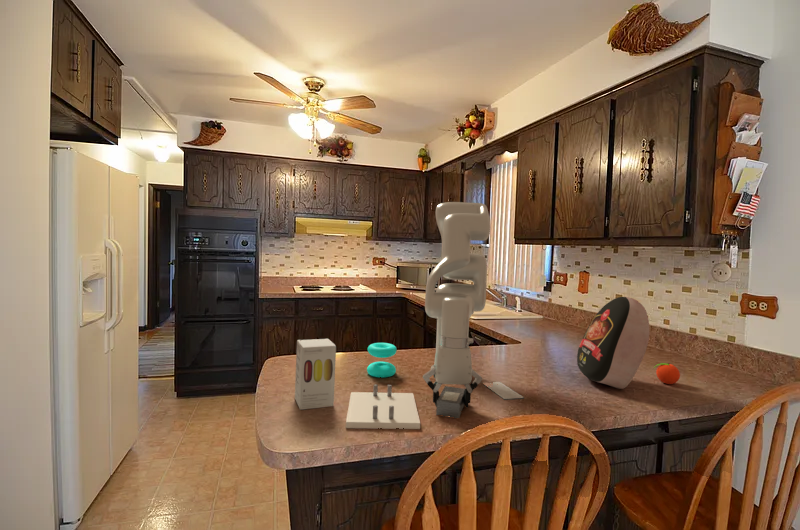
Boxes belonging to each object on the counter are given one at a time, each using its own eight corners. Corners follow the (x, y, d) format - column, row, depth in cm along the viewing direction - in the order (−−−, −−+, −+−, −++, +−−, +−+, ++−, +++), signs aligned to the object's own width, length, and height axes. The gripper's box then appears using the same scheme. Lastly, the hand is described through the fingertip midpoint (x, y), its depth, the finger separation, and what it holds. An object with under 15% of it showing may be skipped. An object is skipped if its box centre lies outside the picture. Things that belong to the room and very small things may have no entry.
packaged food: (568, 371, 152) (573, 291, 151) (622, 374, 151) (628, 293, 150) (592, 392, 130) (598, 299, 129) (656, 396, 129) (662, 301, 128)
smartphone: (504, 399, 121) (481, 382, 136) (504, 401, 121) (481, 384, 136) (525, 397, 123) (499, 381, 138) (525, 399, 123) (499, 383, 138)
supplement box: (299, 410, 108) (301, 347, 107) (293, 398, 117) (295, 339, 116) (335, 406, 112) (336, 345, 111) (327, 394, 120) (328, 337, 120)
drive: (444, 399, 120) (445, 385, 120) (464, 402, 118) (465, 388, 118) (436, 415, 109) (436, 400, 108) (458, 418, 107) (459, 403, 107)
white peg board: (350, 397, 119) (351, 381, 119) (412, 398, 120) (413, 383, 120) (345, 428, 99) (346, 409, 99) (419, 429, 100) (420, 410, 100)
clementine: (654, 384, 141) (656, 364, 141) (650, 378, 148) (651, 359, 147) (681, 388, 138) (683, 367, 138) (676, 382, 145) (677, 362, 144)
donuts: (371, 349, 134) (364, 342, 144) (370, 379, 135) (363, 370, 144) (400, 348, 138) (392, 341, 147) (399, 377, 138) (391, 368, 148)
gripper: (481, 339, 117) (479, 400, 117) (421, 338, 116) (418, 399, 116) (489, 346, 109) (485, 411, 110) (424, 344, 108) (421, 410, 109)
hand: (451, 405), depth 113 cm, fingers closed on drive, 7 cm apart
